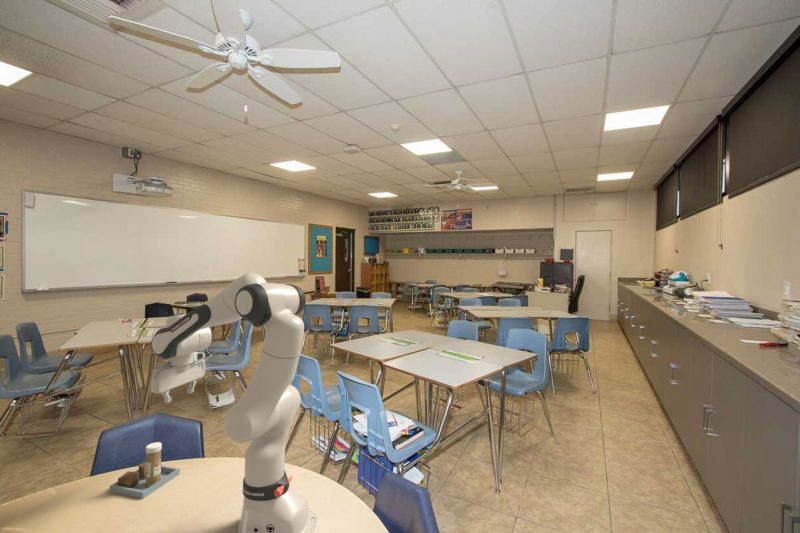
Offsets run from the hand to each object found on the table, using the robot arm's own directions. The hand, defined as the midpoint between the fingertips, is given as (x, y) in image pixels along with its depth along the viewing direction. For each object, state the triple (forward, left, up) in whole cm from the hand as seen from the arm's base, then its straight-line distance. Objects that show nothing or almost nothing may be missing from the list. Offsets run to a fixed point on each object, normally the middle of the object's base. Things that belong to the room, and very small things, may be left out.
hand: (179, 397), depth 124 cm
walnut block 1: (+12, +8, -29) cm, 32 cm away
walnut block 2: (+12, +1, -29) cm, 31 cm away
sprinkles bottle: (+5, +5, -29) cm, 30 cm away
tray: (+8, +5, -29) cm, 31 cm away
